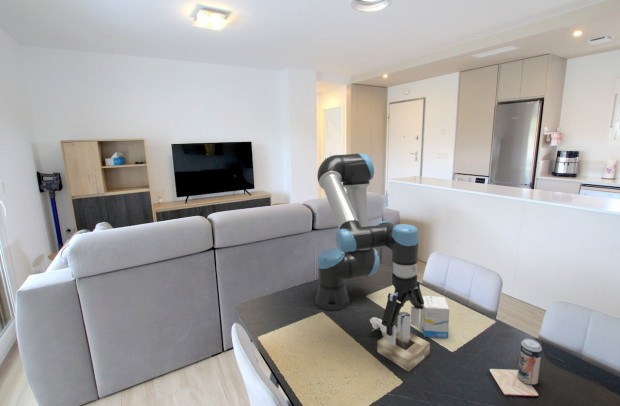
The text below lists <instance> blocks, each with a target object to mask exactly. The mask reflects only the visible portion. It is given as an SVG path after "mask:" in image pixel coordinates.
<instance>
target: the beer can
mask: <svg viewBox="0 0 620 406" xmlns="http://www.w3.org/2000/svg"><path fill="white" fill-rule="evenodd" d="M542 352H543V348H542V345H541V344H540V343H539V342H538V341H537V340H534V339H532V338H524V339H523V340H521V342H520V350H519V360H518V368H517V369H518V370H517V377H518V379H520V381H521V382H524V383H526V384H527V383H528V385H537V384H538V383H539V375H540V369H541V367H540V366H541V358H542Z"/></svg>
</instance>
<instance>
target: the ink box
mask: <svg viewBox="0 0 620 406" xmlns="http://www.w3.org/2000/svg"><path fill="white" fill-rule="evenodd" d="M422 297H423V300H424V304H423V305H421V306H423V309H420V315H419V326H420V328H421V331H422V335H423V337H425V338H427V337H428V338H436V339H437V338H439V339H448V338H449V325H450V324H449V321H450V308H449V305H448V303H447V300H446V297H444V296H436V295H435V296H433V295H431V296H430V295H422Z"/></svg>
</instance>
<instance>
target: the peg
mask: <svg viewBox="0 0 620 406" xmlns="http://www.w3.org/2000/svg"><path fill="white" fill-rule="evenodd" d="M396 325H397V326H396V328H397V346H399V347H401V348H403V349H404V350H407V349H408V348H409V347H410V333H411V313H409V312H406V311H400V312H399V314H398V316H397V324H396Z"/></svg>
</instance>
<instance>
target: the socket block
mask: <svg viewBox="0 0 620 406" xmlns="http://www.w3.org/2000/svg"><path fill="white" fill-rule="evenodd" d="M376 344H377V347H376V350H377V351H376V352H377V353H378V354H380V355H382V356H383V357H384V358H386V359H387V360H389V361H391V362H392V363H394V364H396V365H397V366H399V367H400V368H402V369H403V370H404V371H406V372H408V373H409V372H411V371H412V370H413V369H414V368H415V367H417V365H418V364H420V363H421V362H422V361H423V360H424V359H425V358H427V356H429V355H430V352H431V350H430V349H431V342H429V341H427V340H426V339H424V338H421V337H419V336H417V335H416V334H415V333H414V334H413V333H412V332H410V347H409V348H408V349H407V350H404V349H403V348H401V347H399V346H397V327H396V340H395V345H392V344H391V343H389V342H387V335H386V336H384V337H383V336H382V337H381V338H380V339H378V340H377V342H376Z"/></svg>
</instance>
